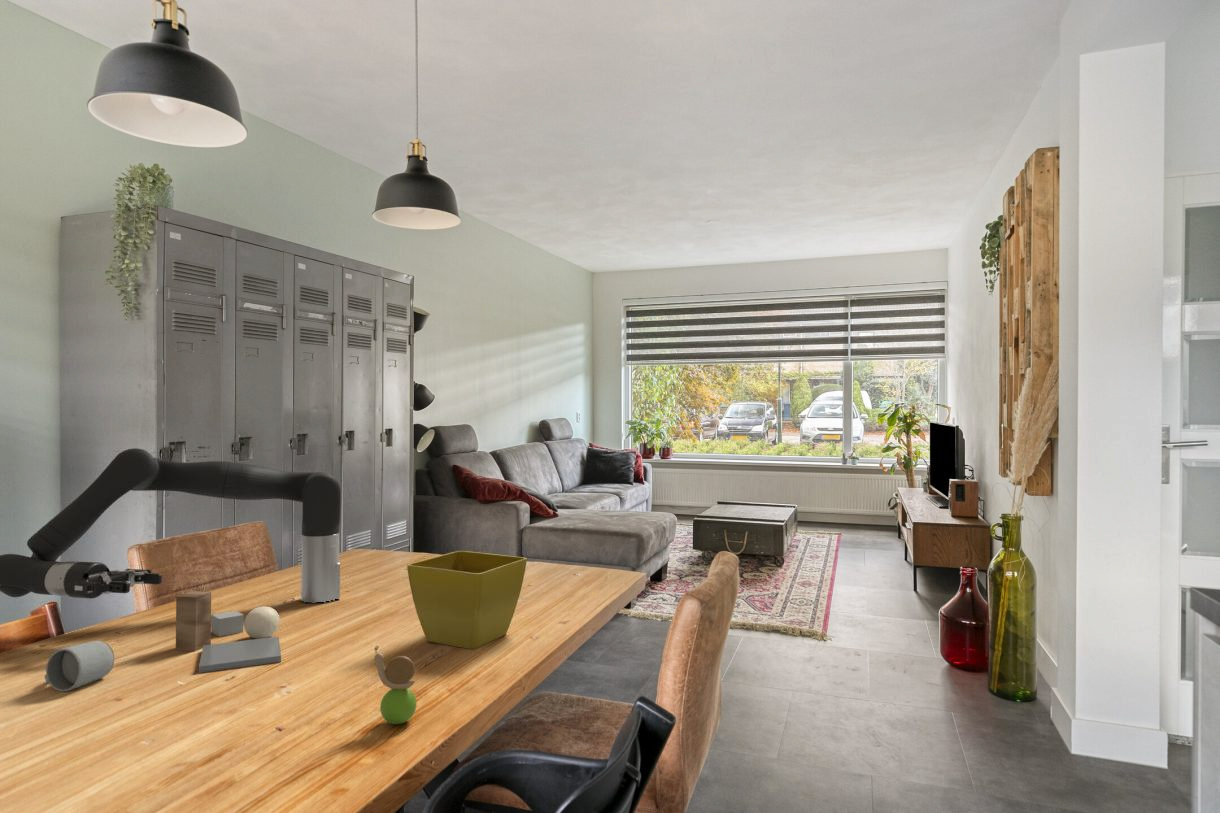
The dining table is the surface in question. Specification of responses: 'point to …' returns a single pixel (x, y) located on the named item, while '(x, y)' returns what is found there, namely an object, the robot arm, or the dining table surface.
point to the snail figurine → (397, 688)
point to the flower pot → (466, 596)
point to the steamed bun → (261, 622)
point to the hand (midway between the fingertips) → (145, 583)
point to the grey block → (227, 623)
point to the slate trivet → (240, 654)
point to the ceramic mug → (79, 665)
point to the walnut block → (193, 621)
